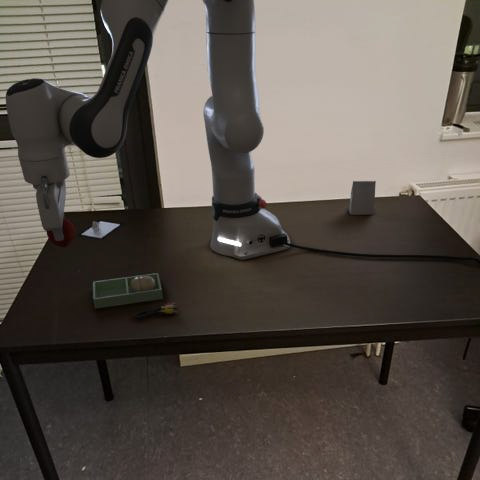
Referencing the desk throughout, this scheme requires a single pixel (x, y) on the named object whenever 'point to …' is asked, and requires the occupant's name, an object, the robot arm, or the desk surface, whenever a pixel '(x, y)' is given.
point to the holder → (123, 292)
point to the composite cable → (158, 311)
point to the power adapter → (100, 229)
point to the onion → (68, 234)
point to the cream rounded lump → (143, 284)
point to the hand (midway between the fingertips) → (60, 232)
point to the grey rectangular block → (362, 198)
